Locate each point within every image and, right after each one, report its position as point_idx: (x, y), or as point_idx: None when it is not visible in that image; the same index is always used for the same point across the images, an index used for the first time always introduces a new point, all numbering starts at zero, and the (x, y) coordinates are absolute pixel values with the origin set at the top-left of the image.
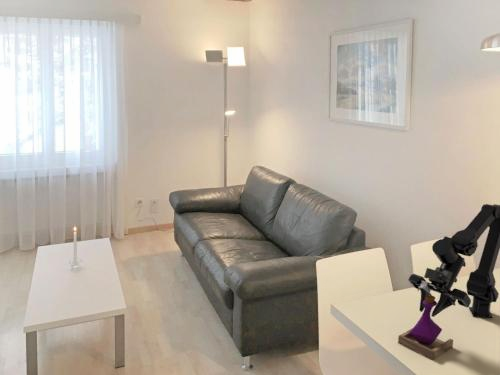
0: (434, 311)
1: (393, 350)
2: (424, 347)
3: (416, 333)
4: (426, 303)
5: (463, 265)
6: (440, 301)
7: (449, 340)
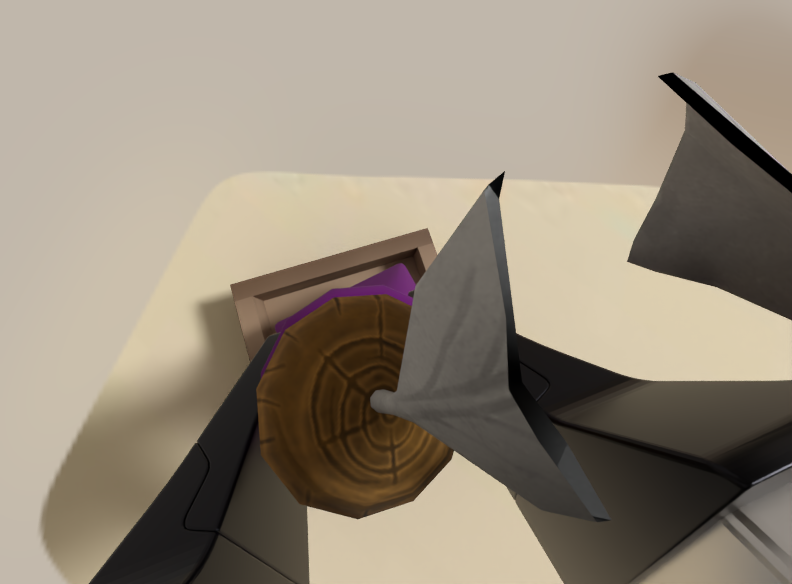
0: (258, 365)
1: (377, 188)
2: (285, 274)
3: (369, 280)
4: (340, 293)
5: None
6: (172, 529)
7: None
